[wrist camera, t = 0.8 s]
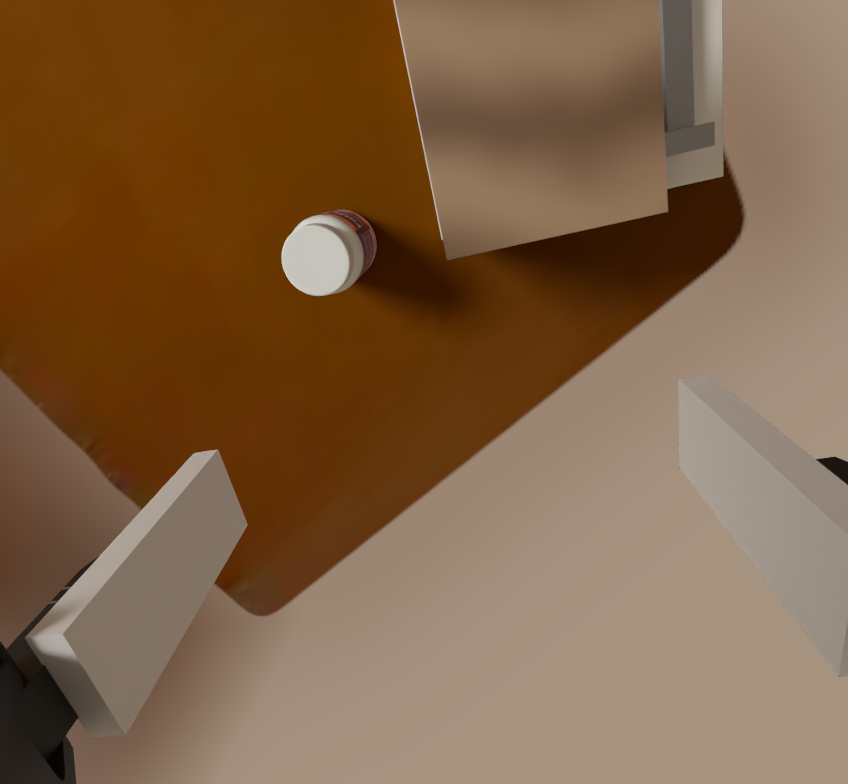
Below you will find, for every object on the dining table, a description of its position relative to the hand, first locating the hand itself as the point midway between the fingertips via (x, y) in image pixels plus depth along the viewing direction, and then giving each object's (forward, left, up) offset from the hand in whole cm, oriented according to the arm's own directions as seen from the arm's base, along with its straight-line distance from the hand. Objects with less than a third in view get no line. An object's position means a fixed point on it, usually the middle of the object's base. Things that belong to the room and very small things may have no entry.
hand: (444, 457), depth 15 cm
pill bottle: (-5, -7, -25) cm, 27 cm away
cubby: (-9, +6, -23) cm, 26 cm away
